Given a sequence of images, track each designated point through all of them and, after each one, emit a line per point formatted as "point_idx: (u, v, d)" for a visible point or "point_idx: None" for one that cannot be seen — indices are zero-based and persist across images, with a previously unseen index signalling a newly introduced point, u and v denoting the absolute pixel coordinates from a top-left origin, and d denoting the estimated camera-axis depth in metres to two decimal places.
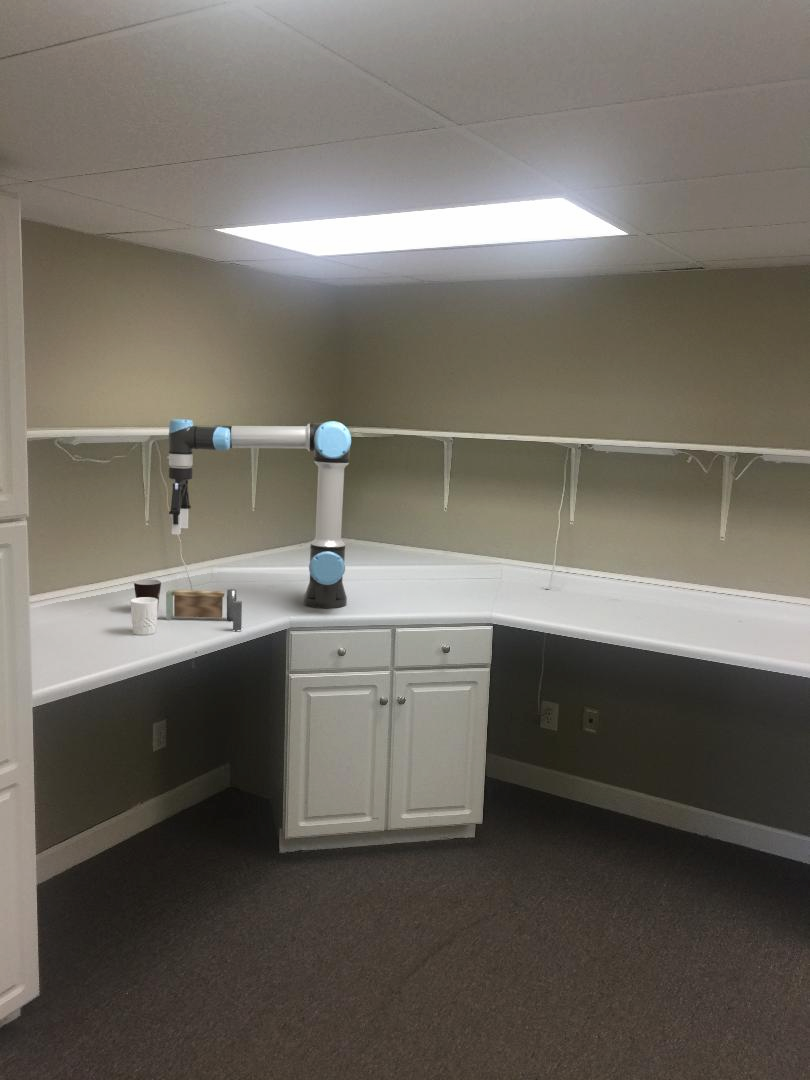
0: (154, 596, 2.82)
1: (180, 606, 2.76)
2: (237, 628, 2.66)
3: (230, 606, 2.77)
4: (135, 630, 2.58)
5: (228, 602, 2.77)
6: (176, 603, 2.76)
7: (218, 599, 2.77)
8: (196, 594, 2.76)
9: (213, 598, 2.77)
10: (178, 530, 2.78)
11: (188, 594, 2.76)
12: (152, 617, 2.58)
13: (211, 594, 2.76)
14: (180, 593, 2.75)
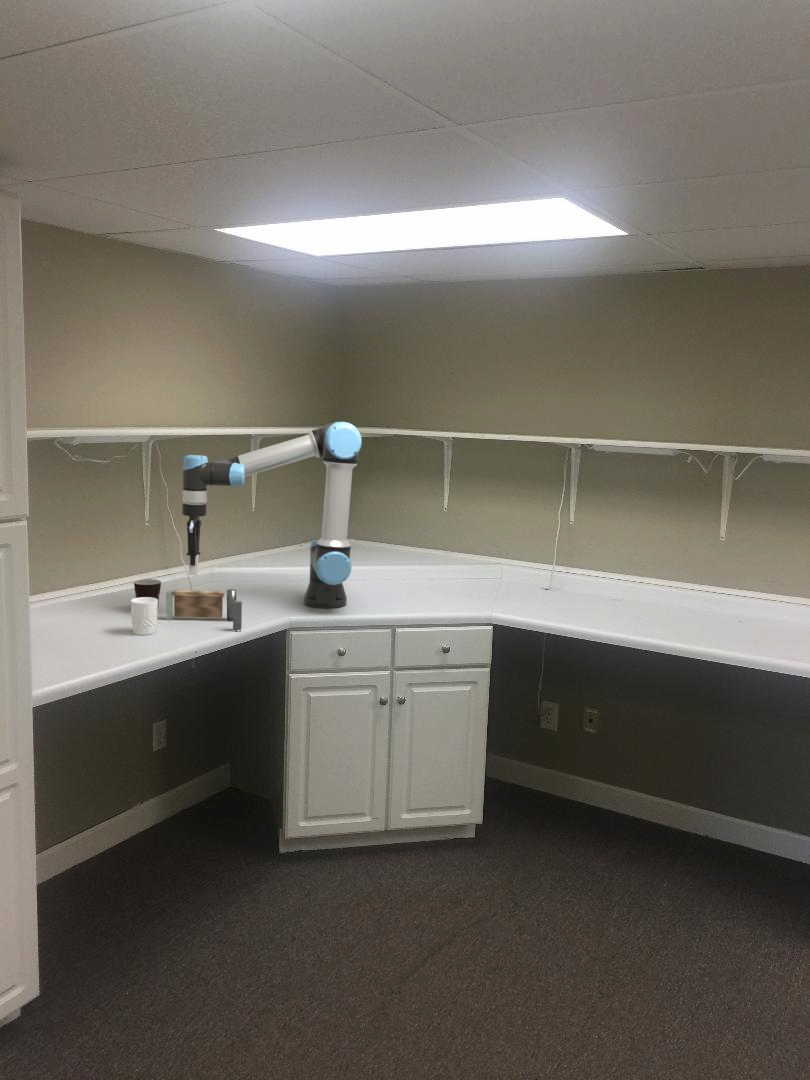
0: (154, 596, 2.82)
1: (180, 606, 2.76)
2: (237, 628, 2.66)
3: (230, 606, 2.77)
4: (135, 630, 2.58)
5: (228, 602, 2.77)
6: (176, 603, 2.76)
7: (218, 599, 2.77)
8: (196, 594, 2.76)
9: (213, 598, 2.77)
10: (195, 571, 2.82)
11: (188, 594, 2.76)
12: (152, 617, 2.58)
13: (211, 594, 2.76)
14: (180, 593, 2.75)
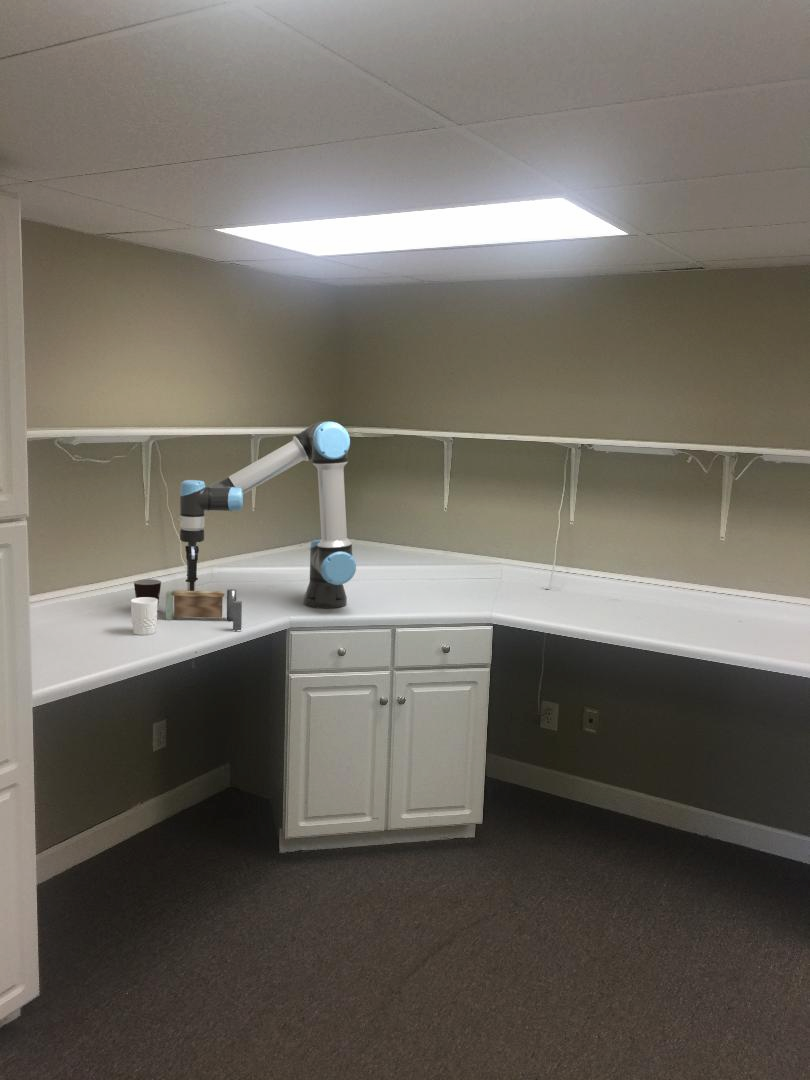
0: (154, 596, 2.82)
1: (180, 606, 2.76)
2: (237, 628, 2.66)
3: (230, 606, 2.77)
4: (135, 630, 2.58)
5: (228, 602, 2.77)
6: (176, 604, 2.76)
7: (218, 599, 2.77)
8: (196, 594, 2.76)
9: (213, 599, 2.77)
10: None
11: (188, 594, 2.75)
12: (152, 617, 2.58)
13: (211, 594, 2.76)
14: (180, 593, 2.75)
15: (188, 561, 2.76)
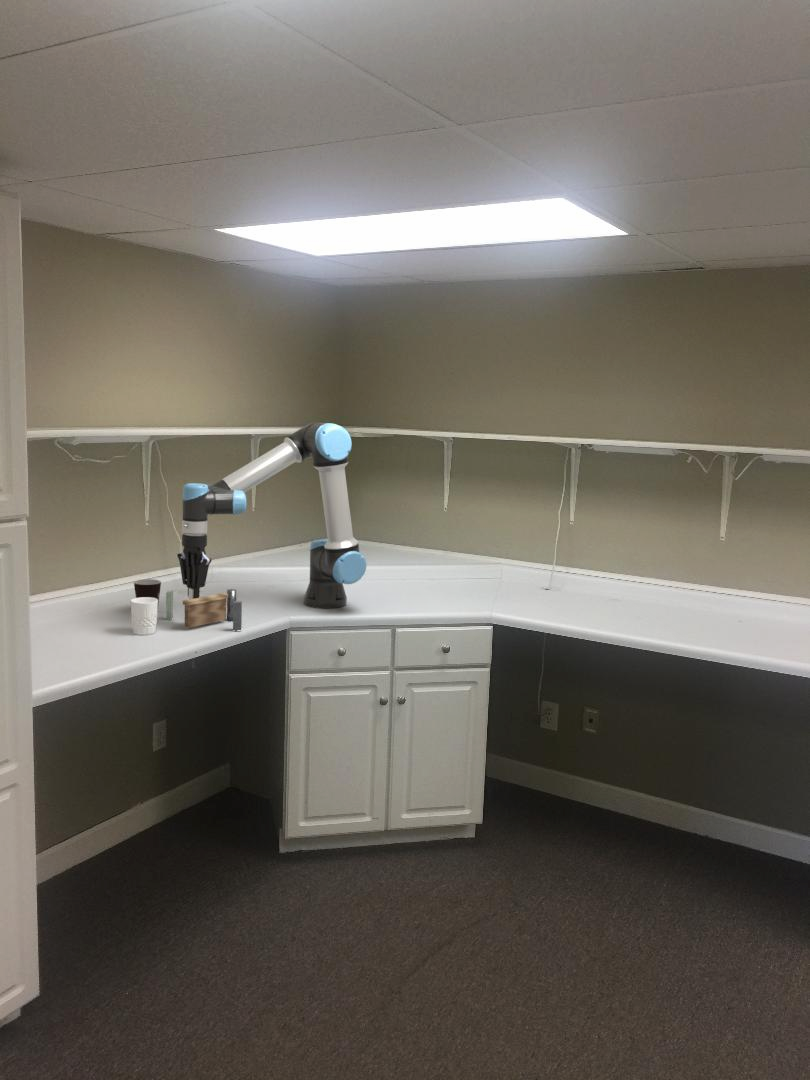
0: (154, 596, 2.82)
1: (193, 615, 2.65)
2: (237, 628, 2.66)
3: (230, 606, 2.77)
4: (135, 630, 2.58)
5: (228, 602, 2.77)
6: (190, 613, 2.64)
7: (223, 601, 2.74)
8: (207, 600, 2.69)
9: (219, 601, 2.73)
10: None
11: (200, 601, 2.67)
12: (152, 617, 2.58)
13: (219, 597, 2.72)
14: (194, 602, 2.65)
15: (195, 567, 2.66)
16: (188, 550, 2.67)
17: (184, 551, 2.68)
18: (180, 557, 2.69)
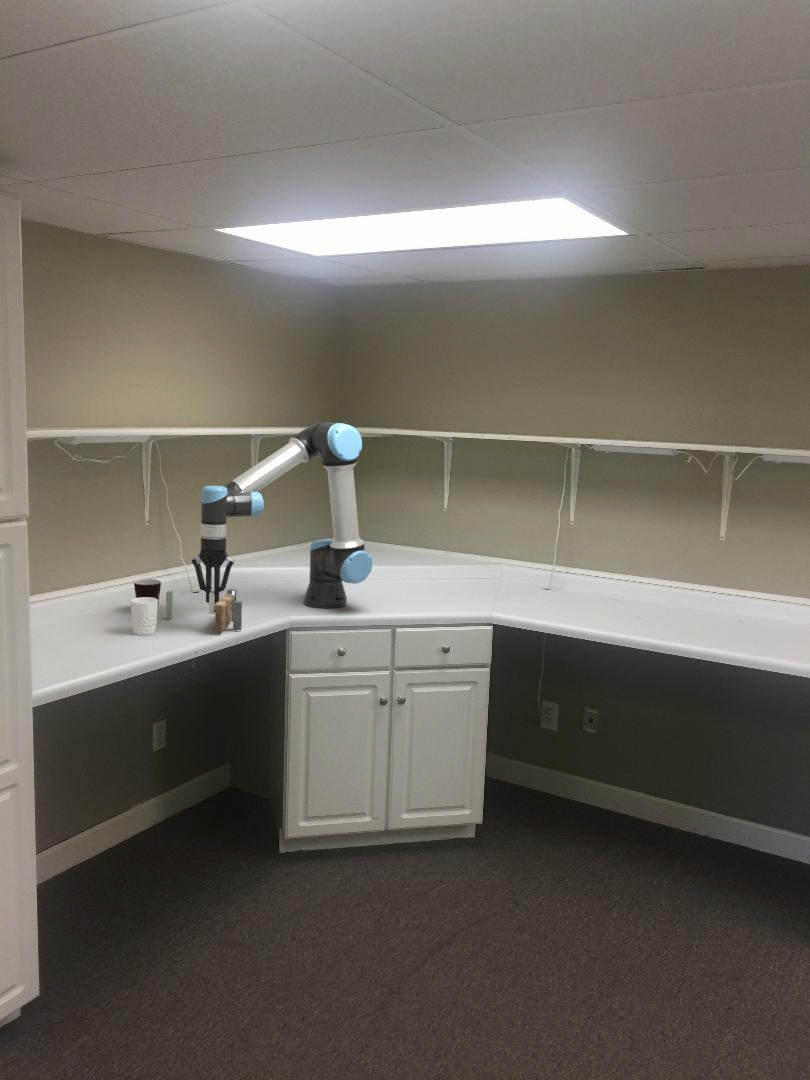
0: (154, 596, 2.82)
1: (222, 618, 2.63)
2: (237, 628, 2.66)
3: None
4: (135, 630, 2.58)
5: None
6: (221, 617, 2.61)
7: (231, 601, 2.74)
8: (227, 602, 2.67)
9: (230, 602, 2.72)
10: None
11: (225, 604, 2.65)
12: (152, 617, 2.58)
13: (231, 598, 2.72)
14: (223, 605, 2.62)
15: (218, 571, 2.62)
16: (207, 554, 2.62)
17: (201, 556, 2.62)
18: (196, 563, 2.62)
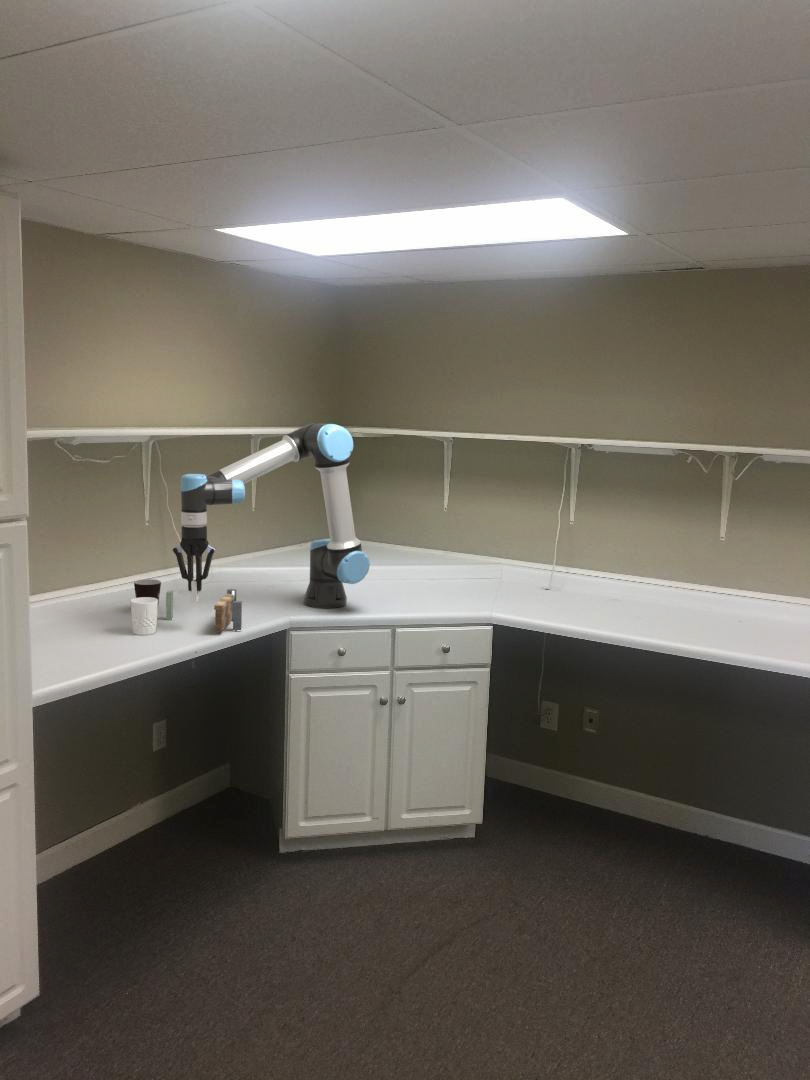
0: (154, 596, 2.82)
1: (222, 618, 2.63)
2: (237, 628, 2.66)
3: None
4: (135, 630, 2.58)
5: None
6: (221, 617, 2.61)
7: (231, 601, 2.74)
8: (227, 602, 2.67)
9: (230, 602, 2.72)
10: (198, 596, 2.66)
11: (225, 604, 2.65)
12: (152, 617, 2.58)
13: (231, 598, 2.72)
14: (224, 605, 2.62)
15: (199, 559, 2.62)
16: (188, 543, 2.61)
17: (182, 544, 2.61)
18: (177, 551, 2.61)
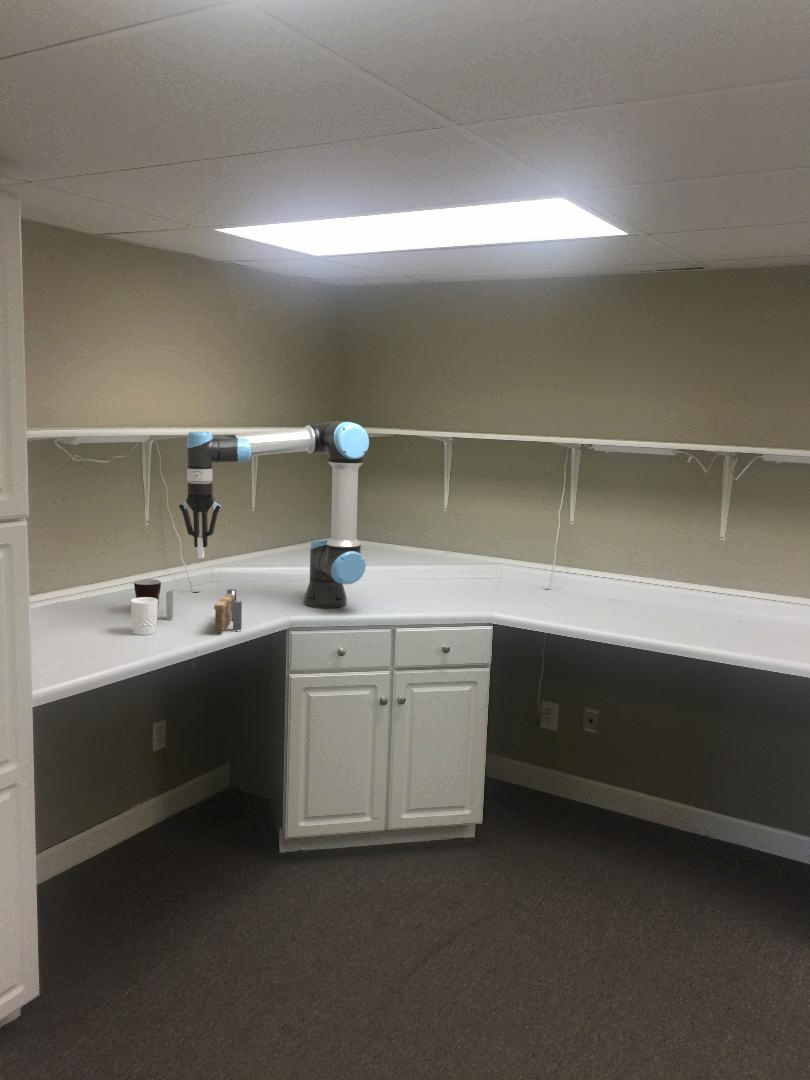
0: (154, 596, 2.82)
1: (222, 618, 2.63)
2: (237, 628, 2.66)
3: None
4: (135, 630, 2.58)
5: None
6: (221, 617, 2.61)
7: (231, 601, 2.74)
8: (227, 602, 2.67)
9: (230, 602, 2.72)
10: (203, 553, 2.70)
11: (225, 604, 2.65)
12: (152, 617, 2.58)
13: (231, 598, 2.72)
14: (224, 605, 2.62)
15: (205, 516, 2.66)
16: (194, 499, 2.65)
17: (189, 501, 2.65)
18: (183, 508, 2.66)
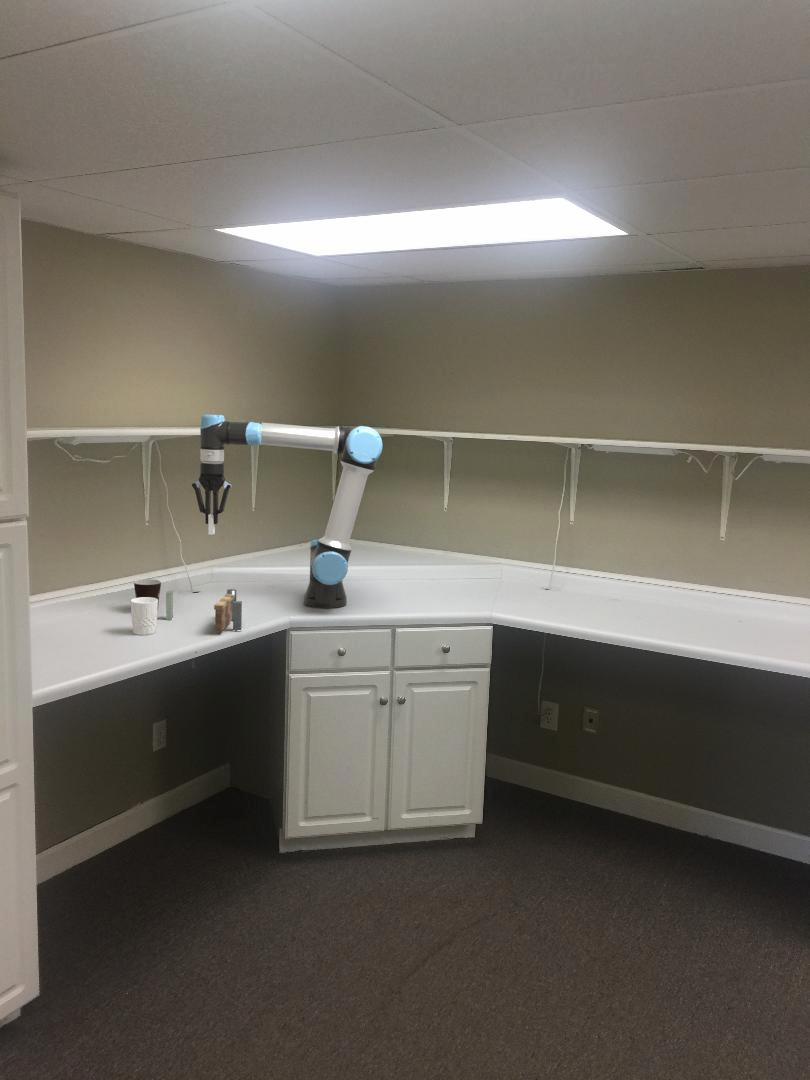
0: (154, 596, 2.82)
1: (222, 618, 2.63)
2: (237, 628, 2.66)
3: None
4: (135, 630, 2.58)
5: None
6: (221, 617, 2.61)
7: (231, 601, 2.74)
8: (227, 602, 2.67)
9: (230, 602, 2.72)
10: (214, 529, 2.85)
11: (225, 604, 2.65)
12: (152, 617, 2.58)
13: (231, 598, 2.72)
14: (224, 605, 2.62)
15: (216, 494, 2.81)
16: (206, 478, 2.81)
17: (201, 480, 2.81)
18: (196, 486, 2.81)
